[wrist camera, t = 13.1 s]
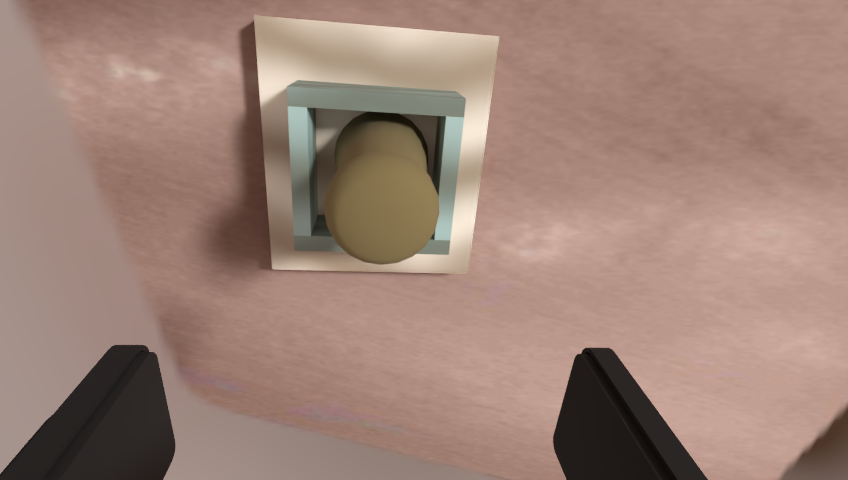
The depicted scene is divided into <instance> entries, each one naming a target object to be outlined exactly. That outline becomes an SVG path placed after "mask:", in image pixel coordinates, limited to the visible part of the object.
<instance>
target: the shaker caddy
mask: <svg viewBox="0 0 848 480" xmlns="http://www.w3.org/2000/svg"><path fill="white" fill-rule="evenodd" d="M254 25H255V39H256V53H257V67H258V81H259V95H260V109H261V122H262V136H263V150H264V164H265V178H266V192H267V206H268V220H269V234H270V248H271V262H272V269H277V270H320V271H363V272H407V273H450V274H468V269H469V261H470V254H471V246H472V239H473V231H474V224H475V216H476V209H477V201H478V194H479V186H480V179H481V171H482V164H483V156H484V149H485V141H486V133H487V126H488V118H489V111H490V103H491V96H492V88H493V81H494V73H495V66H496V58H497V51H498V43H499V36H489V35H477V34H466V33H454V32H442V31H431V30H419V29H407V28H396V27H384V26H372V25H361V24H349V23H337V22H326V21H314V20H302V19H291V18H279V17H267V16H256V15H254ZM368 111H370V112H386V113H399V114H401V115H403V116H404V117H406V118H408V119H409V120H411V121H412V122H413V123H414V124H415V125H416V126H417V128H418V129H419V130H420V131H421V132H422V134H423V137H424V139H425V142H426V144H427V148H428V168H427V174H428V175H429V176H430V178H431V180H432V182H433V185H434V187H435V189H436V192H437V194H438V199H439V212H440V213H439V217H438V221H437V224H436V228H435V231H434V233H433V235H432V237H431V238H430V240H429V241H428V243H427V244H426V246H425V247H424V248H422V249H421V250H420V251H419V252H418V253H416V254H415V255H414V256H413V257H410V258H408V259H406V260H403V261H401V262H398V263H392V264H384V265H379V264H372V263H366V262H363V261H361V260H359V259H357V258H354V257H352V256H350V255H349V254H347V253H346V252H345V251H344V250H343V249H342V248H341V247H340V246H339V245H338V244H337V243H336V241H335V240H334V238H333V236H332V234H331V233H330V231H329V229H328V227H327V222H326V217H325V212H324V204H325V198H326V191H327V189H328V187H329V185H330V183H331V181H332V179H333V177H334V175H335V174H336V172H337V171H336V164H335V157H334V154H335V147H336V141H337V139H338V137H339V135H340V133H341V131H342V130H343V128H344V127H345V126H346V125H347V124H348V123H349V122H350V121H351V120H352V119H353V118H354V117H357V116H359V115H361V114H363V113H365V112H368Z"/></svg>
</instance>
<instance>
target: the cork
mask: <svg viewBox="0 0 848 480" xmlns="http://www.w3.org/2000/svg"><path fill="white" fill-rule="evenodd" d="M334 157H335V164H336V171H337V172H336V174H335V175H334V177H333V179H332V181H331V183H330V185H329V187H328V189H327V191H326V198H325V204H324V212H325V217H326V222H327V227H328V229H329V231H330V233H331V234H332V236H333V238H334V240H335V241H336V243H337V244H338V245H339V246H340V247H341V248H342V249H343V250H344V251H345V252H346V253H347V254H349V255H350V256H352V257H354V258H357V259H359V260H361V261H363V262H366V263H372V264H379V265H384V264H392V263H398V262H401V261H403V260H406V259H408V258H410V257H413V256H414V255H415V254H416V253H418V252H419V251H420V250H421V249H422V248H424V247H425V246H426V244H427V243H428V241H429V240H430V238H431V237H432V235H433V233H434V231H435V228H436V224H437V221H438V217H439V213H440V212H439V199H438V194H437V192H436V189H435V187H434V185H433V182H432V180H431V178H430V176H429V175H428V174H427V168H428V148H427V144H426V142H425V139H424V137H423V134H422V132H421V131H420V130H419V129H418V128H417V126H416V125H415V124H414V123H413V122H412V121H411V120H409V119H408V118H406V117H404V116H403V115H401V114H399V113H386V112H370V111H368V112H365V113H363V114H361V115H359V116H357V117H354V118H353V119H352V120H351V121H350V122H349V123H348V124H347V125H346V126H345V127H344V128H343V130H342V131H341V133H340V135H339V137H338V139H337V141H336V147H335V154H334Z"/></svg>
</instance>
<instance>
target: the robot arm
mask: <svg viewBox="0 0 848 480" xmlns="http://www.w3.org/2000/svg"><path fill="white" fill-rule="evenodd" d="M553 444H554V450H555V453H556V455H557V458H558V460H559V462H560V465H561V467H562V470H563V472H564V474H565V477H566V479H567V480H708V479H707V478H706V477H705V475H704V474H703V472H702V471H701V470H700V468H699V467H698V466H697V464H696V463H695V462H694V460H693V459H692V457H691V456H690V455H689V453H688V452H687V451H686V449H685V448H684V447H683V445H682V444H681V442H680V441H679V440H678V438H677V437H676V436H675V434H674V433H673V432H672V430H671V429H670V427H669V426H668V425H667V423H666V422H665V421H664V419H663V418H662V417H661V415H660V414H659V412H658V411H657V410H656V408H655V407H654V406H653V404H652V403H651V401H650V400H649V399H648V397H647V396H646V395H645V393H644V392H643V391H642V389H641V388H640V386H639V385H638V384H637V382H636V381H635V380H634V378H633V377H632V376H631V374H630V373H629V371H628V370H627V369H626V367H625V366H624V365H623V363H622V362H621V361H620V359H619V358H618V356H617V355H616V354H615V352H614V351H613V350H612V349H610V348H585V349H584V350H583V351H582V353H581V354H577V355H576V357H575V359H574V363H573V366H572V370H571V374H570V377H569V381H568V385H567V388H566V392H565V396H564V399H563V403H562V407H561V410H560V414H559V418H558V421H557V425H556V429H555V432H554V437H553ZM174 452H175V439H174V434H173V429H172V425H171V420H170V415H169V410H168V406H167V401H166V396H165V392H164V387H163V382H162V377H161V373H160V368H159V363H158V358H157V355H156V354H155V353H154V352H149V350H148V348H147V347H146V346H144V345H114V346H112V347H111V348H110V349H109V350H108V351H107V352H106V353H105V354H104V356H103V357H102V358H101V359H100V360H99V361H98V363H97V364H96V365H95V366H94V367H93V368H92V370H91V371H90V372H89V373H88V374H87V376H86V377H85V378H84V379H83V380H82V381H81V383H80V384H79V385H78V386H77V387H76V388H75V390H74V391H73V392H72V393H71V394H70V395H69V397H68V398H67V399H66V400H65V401H64V403H63V404H62V405H61V406H60V407H59V408H58V410H57V411H56V412H55V413H54V414H53V415H52V416H51V417H50V418H49V419H48V420H46V421H45V423H44V424H43V425H42V426H41V427H40V429H39V430H38V431H37V432H36V433H35V434H34V435H33V437H32V438H31V439H30V440H29V441H28V442H27V444H26V445H25V446H24V447H23V448H22V449H21V451H20V452H19V453H18V454H17V455H16V457H15V458H14V459H13V460H12V461H11V462H10V463H9V465H8V466H7V467H6V468H5V469H4V470H3V472H2V473H1V474H0V480H163V478H164V476H165V474H166V472H167V470H168V468H169V466H170V464H171V462H172V459H173V456H174Z"/></svg>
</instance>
